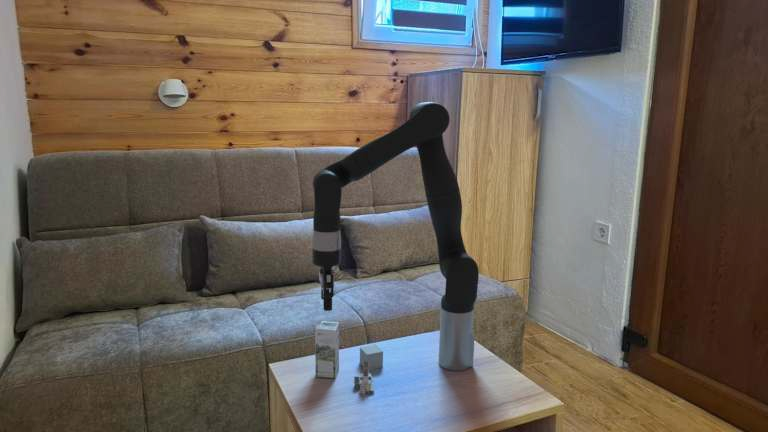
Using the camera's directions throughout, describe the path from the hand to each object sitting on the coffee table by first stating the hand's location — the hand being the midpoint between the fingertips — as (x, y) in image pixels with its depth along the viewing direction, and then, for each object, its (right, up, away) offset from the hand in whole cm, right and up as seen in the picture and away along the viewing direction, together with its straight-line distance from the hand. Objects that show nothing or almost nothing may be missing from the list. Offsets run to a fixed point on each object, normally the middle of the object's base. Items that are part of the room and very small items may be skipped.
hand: (326, 304), depth 145 cm
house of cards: (+8, -22, -2) cm, 23 cm away
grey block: (+12, -19, +9) cm, 24 cm away
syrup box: (0, -20, +4) cm, 21 cm away
